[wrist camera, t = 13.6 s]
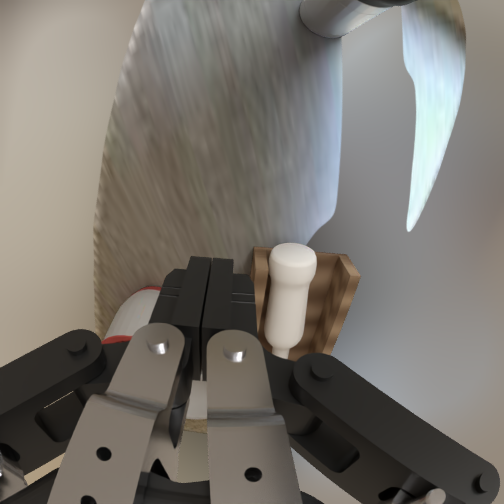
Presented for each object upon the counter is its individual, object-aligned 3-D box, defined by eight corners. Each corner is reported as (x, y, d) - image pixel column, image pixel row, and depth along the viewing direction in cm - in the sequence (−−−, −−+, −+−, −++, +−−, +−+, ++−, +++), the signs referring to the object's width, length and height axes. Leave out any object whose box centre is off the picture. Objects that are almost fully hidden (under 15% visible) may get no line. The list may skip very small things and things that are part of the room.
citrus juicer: (157, 345, 63) (138, 414, 45) (111, 292, 55) (74, 360, 37) (212, 326, 60) (204, 404, 42) (167, 265, 52) (138, 340, 35)
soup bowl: (250, 372, 68) (250, 392, 62) (207, 409, 77) (206, 426, 71) (163, 335, 61) (157, 356, 55) (134, 381, 70) (129, 398, 64)
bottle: (295, 270, 41) (277, 387, 56) (327, 254, 46) (302, 369, 60) (259, 249, 47) (252, 366, 61) (292, 237, 51) (278, 350, 66)
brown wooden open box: (253, 246, 51) (255, 269, 44) (346, 254, 53) (360, 276, 46) (239, 362, 66) (239, 387, 59) (309, 364, 67) (314, 388, 60)
